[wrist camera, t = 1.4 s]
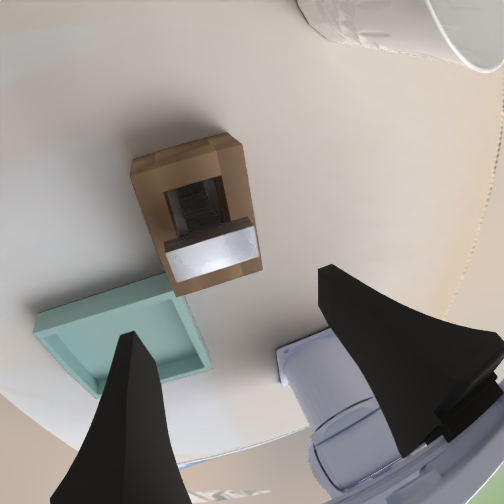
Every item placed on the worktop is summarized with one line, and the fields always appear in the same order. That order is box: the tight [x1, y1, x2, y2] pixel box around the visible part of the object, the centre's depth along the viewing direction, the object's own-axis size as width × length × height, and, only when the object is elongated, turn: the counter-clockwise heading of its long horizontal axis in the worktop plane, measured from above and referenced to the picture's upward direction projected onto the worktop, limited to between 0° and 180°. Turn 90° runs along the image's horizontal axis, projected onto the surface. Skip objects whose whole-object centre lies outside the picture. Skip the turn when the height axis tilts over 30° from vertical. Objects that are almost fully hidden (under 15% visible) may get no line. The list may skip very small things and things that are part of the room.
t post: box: [164, 191, 259, 283], centre depth 16 cm, size 4×2×6 cm, turn 98°
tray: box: [33, 272, 213, 399], centre depth 22 cm, size 12×10×2 cm
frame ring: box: [130, 133, 263, 298], centre depth 17 cm, size 6×8×3 cm
